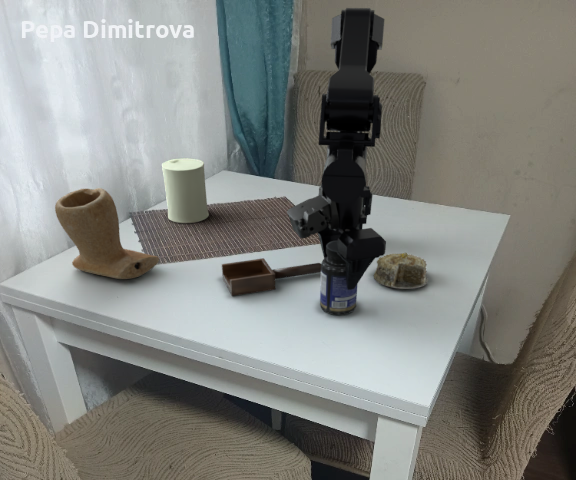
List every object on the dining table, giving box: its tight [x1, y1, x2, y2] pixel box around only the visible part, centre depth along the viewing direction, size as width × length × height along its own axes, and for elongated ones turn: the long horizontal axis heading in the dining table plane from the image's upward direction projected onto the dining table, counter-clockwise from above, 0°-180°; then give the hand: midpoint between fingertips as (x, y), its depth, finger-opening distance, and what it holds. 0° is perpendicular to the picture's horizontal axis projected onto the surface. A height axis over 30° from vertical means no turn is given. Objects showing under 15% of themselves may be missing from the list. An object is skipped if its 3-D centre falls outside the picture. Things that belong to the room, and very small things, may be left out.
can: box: [161, 157, 210, 224], centre depth 127 cm, size 9×9×12 cm
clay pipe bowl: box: [54, 187, 160, 280], centre depth 103 cm, size 15×12×15 cm
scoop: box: [221, 258, 322, 297], centre depth 104 cm, size 18×7×3 cm, turn 109°
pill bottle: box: [319, 241, 359, 316], centre depth 93 cm, size 6×6×11 cm
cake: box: [373, 252, 429, 290], centre depth 104 cm, size 10×10×5 cm
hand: (339, 276), depth 93 cm, fingers open, 9 cm apart
